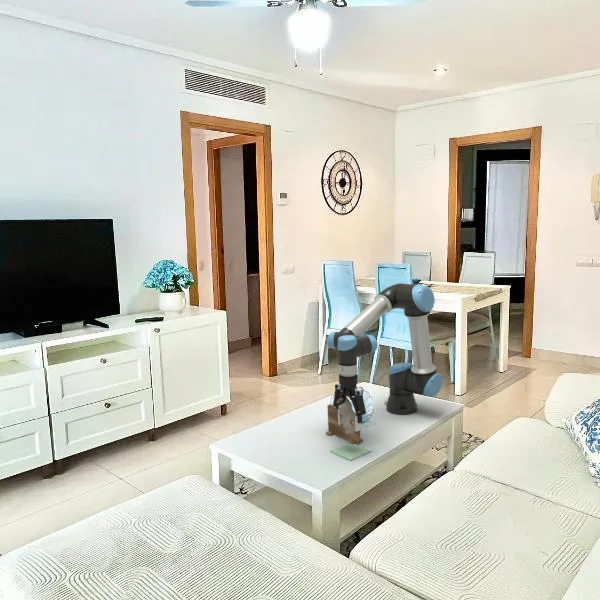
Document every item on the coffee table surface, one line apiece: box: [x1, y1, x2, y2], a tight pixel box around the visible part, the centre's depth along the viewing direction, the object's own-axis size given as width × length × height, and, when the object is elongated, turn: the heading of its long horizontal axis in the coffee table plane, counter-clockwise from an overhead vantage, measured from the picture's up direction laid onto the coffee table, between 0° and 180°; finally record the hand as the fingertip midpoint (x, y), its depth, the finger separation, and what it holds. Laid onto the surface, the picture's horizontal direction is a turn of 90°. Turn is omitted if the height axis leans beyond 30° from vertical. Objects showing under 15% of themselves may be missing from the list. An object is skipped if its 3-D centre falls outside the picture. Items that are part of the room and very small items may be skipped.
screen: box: [325, 403, 364, 445], centre depth 236 cm, size 6×18×13 cm, turn 40°
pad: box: [329, 442, 372, 462], centre depth 223 cm, size 12×12×1 cm
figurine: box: [336, 396, 356, 434], centre depth 221 cm, size 9×10×15 cm
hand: (349, 426), depth 221 cm, fingers closed on figurine, 9 cm apart
